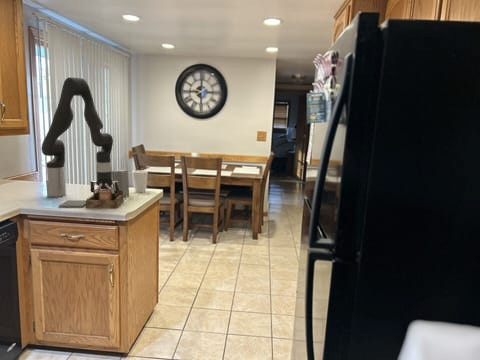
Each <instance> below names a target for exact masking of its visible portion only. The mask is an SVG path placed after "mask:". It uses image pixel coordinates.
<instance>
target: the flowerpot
mask: <svg viewBox="0 0 480 360" xmlns="http://www.w3.org/2000/svg"><path fill="white" fill-rule="evenodd" d="M98 192H99V198H100V200H111V191H110V190H109V189H99V190H98Z"/></svg>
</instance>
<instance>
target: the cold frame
mask: <svg viewBox="0 0 480 360" xmlns="http://www.w3.org/2000/svg"><path fill="white" fill-rule="evenodd" d="M115 195H116V198H115V199H114V200H112V192H111V200H100V198H99V192H98V200H96V199H95V194H94V193H93V192H92V195H90V196H88V197H87V198H86V206H85V209H118V208H119V207H120V206H122V204H123V203H124V200H125V199H124V197H123V190H119V191H118V192H117V193H115Z"/></svg>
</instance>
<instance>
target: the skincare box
mask: <svg viewBox="0 0 480 360" xmlns="http://www.w3.org/2000/svg"><path fill="white" fill-rule="evenodd" d="M112 181H113V182H114V181H118V185H119V190H123V197H127V196H130V187H129V170H128V169H117V170H116V169H115V170H112ZM112 187H113V189H114V190H115V185H114V184H112Z"/></svg>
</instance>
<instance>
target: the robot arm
mask: <svg viewBox="0 0 480 360" xmlns="http://www.w3.org/2000/svg"><path fill="white" fill-rule="evenodd" d="M74 96H75V97H76V96H77V97H81V99H82V100H83V103H84V109H83V117H84V121H85V122H86V124H87V127H88V128H89V133H90V139H91V142H92V144H93V145H94V146H96V147H99V148H100V147H101V149H100V150H98V151H97V152H96V153H95V154H96V156H95V158H96V166H95V168H96V181H95V180H92V181H90V193H92V194H93V193H94V194H95V199H96V200H98V190H99V189H109V190H110V191H111V192H112V200H114V199H115V198H116V195H115V193H117V192H118V191H119V185H118V181H114V182H113V181H112V171H113V168H112V164H111V163H112V161H111V153H112V150H113V145H114V139H113V136H112V134H110V133H109V132H101V130H102V129H103V128H104V125H103V124H104V123H103V122H102V120H101V117H100V115H99V114H98V111H97V109H96V106H95V102H94V98H93V95H92V93H91V88H90V85H89V83H88V81H87V80H86V79H84V78H81V77H66V78H65V80H64V82H63V84H62V89H61V92H60V97H59V99H58V100H59V101H58V103H57V106H56V110H55V112H54V115H53V118H52V121H51V123H50V124H51V125H49V129H48V131H47V133H46V136H45V137H44V139H43V141H42V144H41V152H42V154H43V155H44V156H46V157H53V158H52V159H51V160H49V161H47V162H46V174H47V175H46V176H47V179H46V180H45V183H46V196H47V197H49V198H60V197H64V196H65V197H66V196H67V191H66V190H67V188H66V174H65V162H66V158H65V157H66V149H65V148H66V146H65V143H64V141H63V140H61V139H58V138H59V137H61V135H63V134H64V133H65V132H67V131H68V129H69V128H70V127H71V125H72V122H73V120H74V116H75V115H74V111H73V108H72V105H71V104H72V101H73V98H74ZM113 184H114V185H115V190H114V189H113ZM96 185H97V187H96V189H95V186H96Z"/></svg>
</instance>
